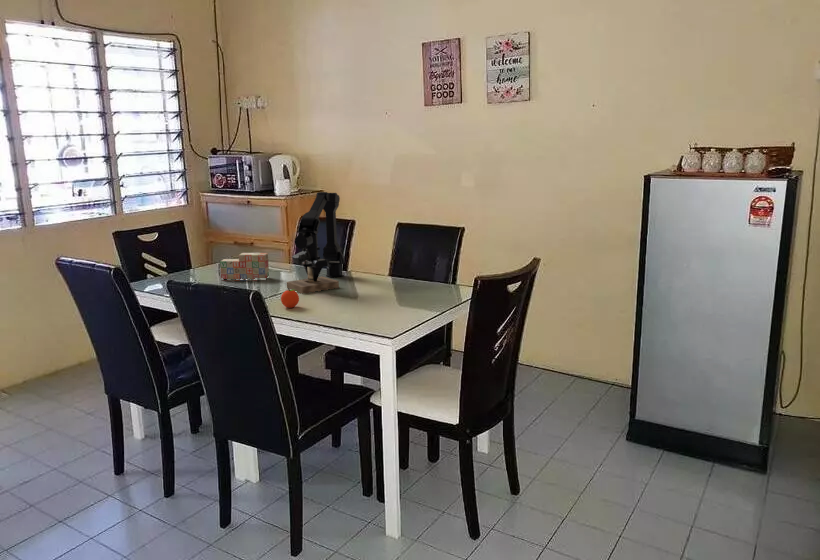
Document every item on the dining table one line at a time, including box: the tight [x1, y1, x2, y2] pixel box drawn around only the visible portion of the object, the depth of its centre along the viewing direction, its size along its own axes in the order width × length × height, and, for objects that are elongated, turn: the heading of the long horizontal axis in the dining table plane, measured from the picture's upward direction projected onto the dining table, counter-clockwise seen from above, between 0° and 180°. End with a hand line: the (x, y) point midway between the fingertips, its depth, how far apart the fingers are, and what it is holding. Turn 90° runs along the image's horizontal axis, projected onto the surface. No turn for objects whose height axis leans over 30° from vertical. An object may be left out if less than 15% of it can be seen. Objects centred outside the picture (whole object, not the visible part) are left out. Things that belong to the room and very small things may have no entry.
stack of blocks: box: [219, 252, 270, 279], centre depth 306 cm, size 21×6×12 cm, turn 86°
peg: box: [307, 267, 317, 283], centre depth 284 cm, size 4×4×8 cm
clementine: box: [280, 289, 300, 309], centre depth 252 cm, size 8×7×7 cm
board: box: [286, 276, 340, 295], centre depth 285 cm, size 18×14×3 cm
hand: (312, 280), depth 285 cm, fingers closed on peg, 4 cm apart
